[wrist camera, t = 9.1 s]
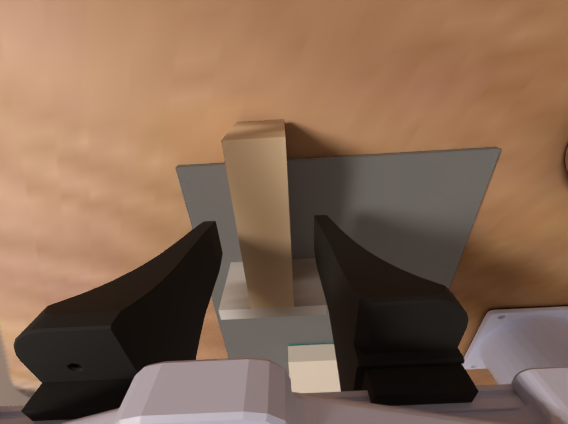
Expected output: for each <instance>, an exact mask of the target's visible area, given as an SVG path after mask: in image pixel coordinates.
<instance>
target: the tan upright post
mask: <svg viewBox="0 0 568 424" xmlns="http://www.w3.org/2000/svg"><path fill="white" fill-rule="evenodd" d="M221 142H222V148H223V154H224V159H225V165H226V171H227V176H228V182H229V188H230V193H231V199H232V205H233V210H234V216H235V222H236V228H237V233H238V239H239V245H240V250H241V256H242V262H231V264H230V268H229V272H228V276H227V279H226V283H225V287H224V291H223V295H222V299H221V302H220V306H219V310H218V311H219V314H220V318H221V320H229V319H249V318H270V317H291V316H312V315H326V312H327V304H326V299H325V295H324V292H323V288H322V284H321V281H320V277H319V273H318V270H317V266H316V259H315V258H306V259H292V255H291V235H290V216H289V196H288V177H287V157H286V138H285V125H284V119H281V120H264V121H247V122H237V123H236V124H235V125H234V126H233V128H232V129H231V130H230V131H229V132H228V133H227V135H226V136H225V137H224V138H223V139H222V140H221Z"/></svg>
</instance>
